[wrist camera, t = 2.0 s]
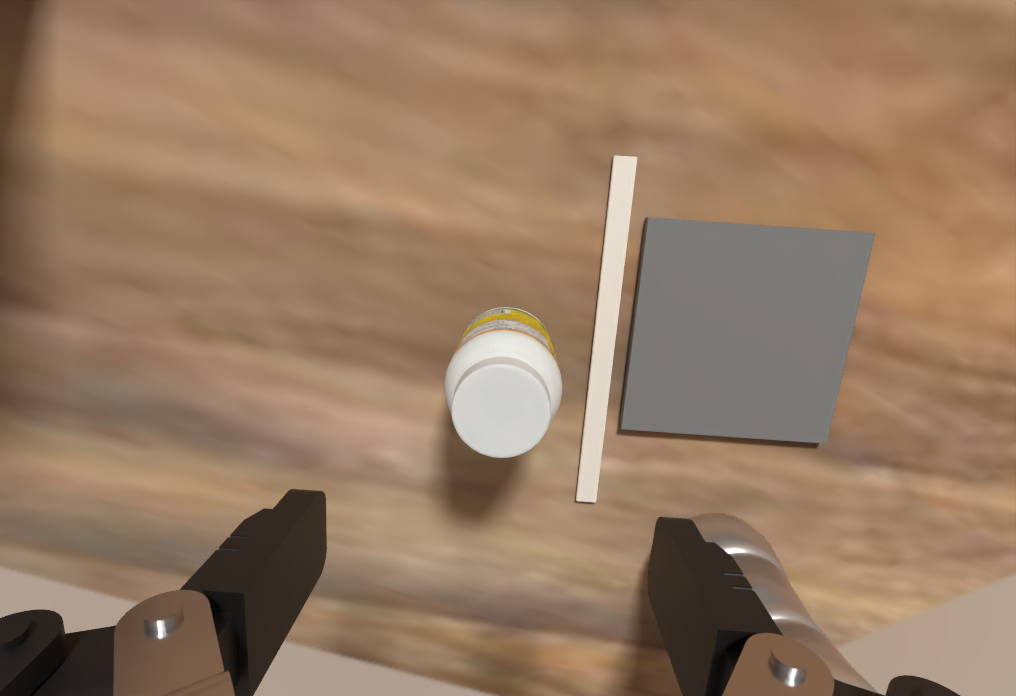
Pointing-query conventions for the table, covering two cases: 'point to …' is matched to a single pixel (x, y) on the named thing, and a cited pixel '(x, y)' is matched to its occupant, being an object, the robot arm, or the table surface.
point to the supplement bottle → (503, 383)
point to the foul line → (606, 324)
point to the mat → (741, 329)
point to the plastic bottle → (775, 589)
